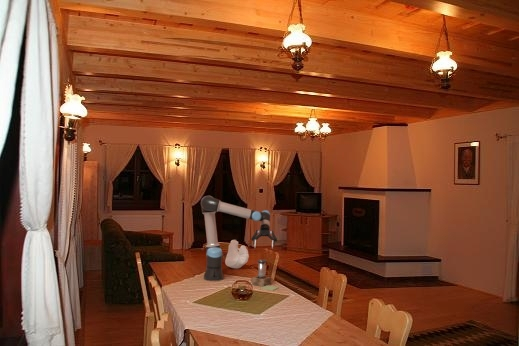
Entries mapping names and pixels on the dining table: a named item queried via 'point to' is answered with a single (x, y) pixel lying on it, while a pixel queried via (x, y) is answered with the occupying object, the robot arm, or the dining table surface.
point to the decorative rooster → (236, 255)
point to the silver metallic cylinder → (261, 268)
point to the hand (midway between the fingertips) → (263, 247)
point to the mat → (269, 287)
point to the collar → (261, 281)
